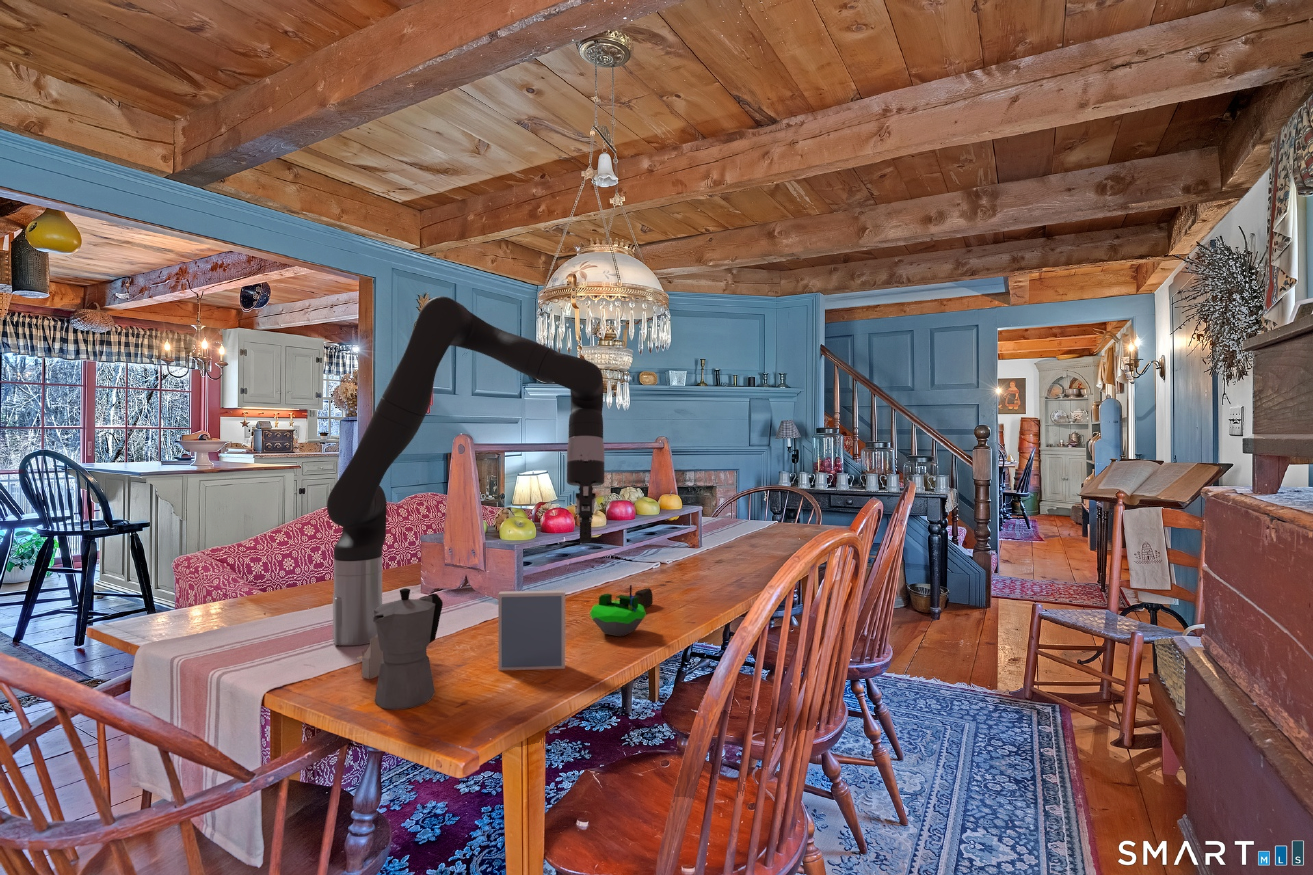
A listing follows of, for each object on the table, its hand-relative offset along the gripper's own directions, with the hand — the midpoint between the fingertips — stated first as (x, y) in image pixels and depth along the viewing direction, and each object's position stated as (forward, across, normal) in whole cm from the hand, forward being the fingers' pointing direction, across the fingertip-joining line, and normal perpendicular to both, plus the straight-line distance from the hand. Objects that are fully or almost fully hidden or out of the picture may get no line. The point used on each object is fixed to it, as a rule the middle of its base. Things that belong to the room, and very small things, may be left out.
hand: (585, 542), depth 133 cm
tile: (+23, +3, -10) cm, 25 cm away
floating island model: (+19, -16, +7) cm, 26 cm away
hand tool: (+16, -32, +11) cm, 38 cm away
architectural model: (+24, +3, -37) cm, 44 cm away
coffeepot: (+26, +14, -29) cm, 41 cm away
